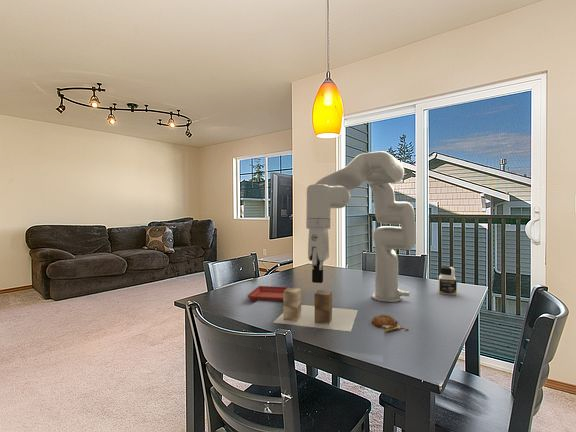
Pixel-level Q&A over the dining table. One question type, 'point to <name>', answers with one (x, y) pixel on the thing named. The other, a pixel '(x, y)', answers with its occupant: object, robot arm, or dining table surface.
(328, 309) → the walnut block
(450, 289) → the medicine bottle
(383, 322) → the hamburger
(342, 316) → the slab
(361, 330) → the dining table surface
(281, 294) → the red tray
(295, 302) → the maple block
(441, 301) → the dining table surface
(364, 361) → the dining table surface
